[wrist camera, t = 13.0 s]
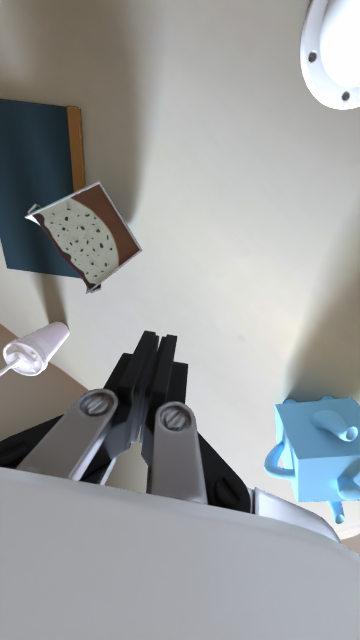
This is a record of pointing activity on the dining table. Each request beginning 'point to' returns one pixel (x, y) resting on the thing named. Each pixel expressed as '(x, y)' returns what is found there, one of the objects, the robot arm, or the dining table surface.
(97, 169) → the dining table surface
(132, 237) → the food container
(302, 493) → the teakettle
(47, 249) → the dark blue notebook
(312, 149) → the dining table surface
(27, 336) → the smoothie
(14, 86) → the dining table surface
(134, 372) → the robot arm
